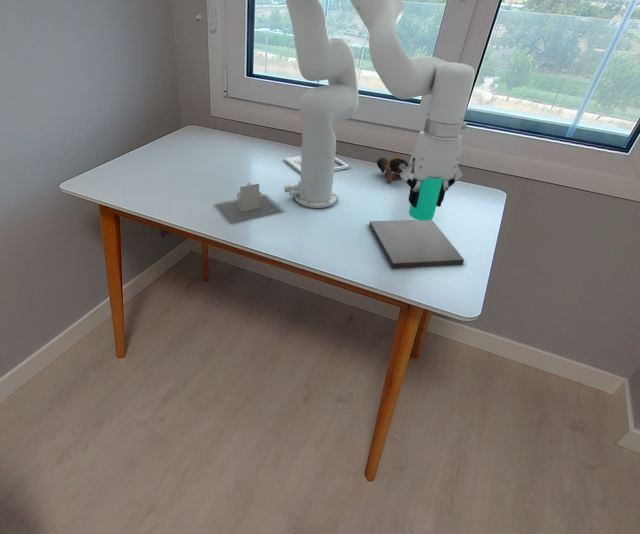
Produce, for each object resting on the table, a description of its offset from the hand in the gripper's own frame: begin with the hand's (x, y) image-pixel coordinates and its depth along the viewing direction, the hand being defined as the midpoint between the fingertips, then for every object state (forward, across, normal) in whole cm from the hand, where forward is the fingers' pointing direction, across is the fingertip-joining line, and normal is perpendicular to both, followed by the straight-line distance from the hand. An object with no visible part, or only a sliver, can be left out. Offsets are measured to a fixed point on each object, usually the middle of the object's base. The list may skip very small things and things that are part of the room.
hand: (424, 203), depth 97 cm
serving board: (+12, 0, -1) cm, 12 cm away
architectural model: (+12, +41, -23) cm, 49 cm away
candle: (+3, 0, 0) cm, 3 cm away
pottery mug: (+12, -8, -43) cm, 46 cm away
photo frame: (+12, +16, -55) cm, 59 cm away
